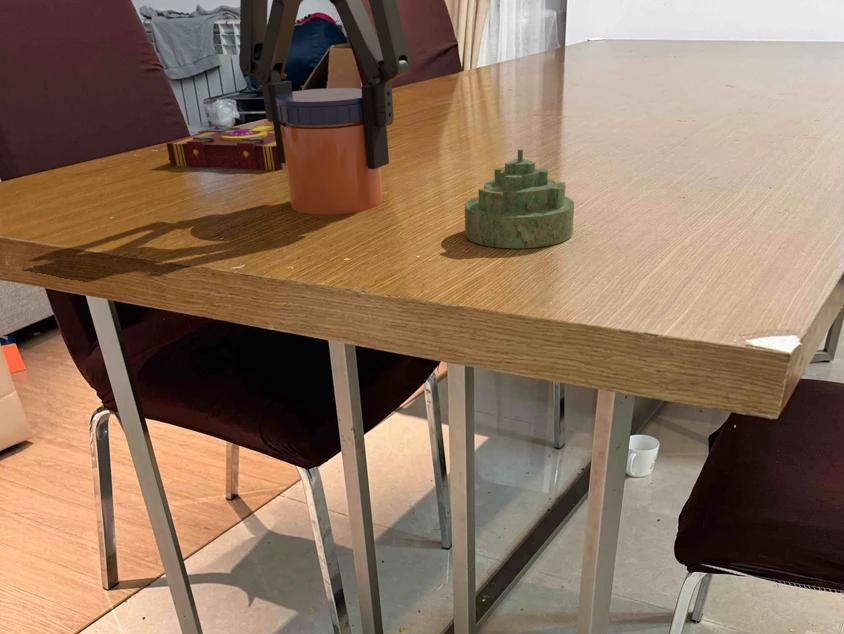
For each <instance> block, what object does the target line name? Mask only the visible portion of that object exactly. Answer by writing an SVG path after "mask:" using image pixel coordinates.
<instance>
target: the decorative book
mask: <svg viewBox="0 0 844 634" xmlns="http://www.w3.org/2000/svg"><path fill="white" fill-rule="evenodd" d="M166 147H167V148H166V149H167V154H168V161H169V163H170V166H171V167H187V168H188V167H189V168H199V169H200V168H202V169H207V168H215V169H217V168H219V169H240V170H255V171H256V170H270V171H272V170H273V171H282V170H284V168H286V166H285V163H279V161H278V154H277V147H276V140H275V133H274V128H273V126H270V125H269V126H266V125H259V126H258V127H255V128H241V126H219V125H215V126H214V125H213V126H210V127H208V128H205V129H202V130H201V129H200V130H199V131H197V133H194V134H192V135H188V136H186V137H185V136H184V137H182V138H178V139H176V140H173V141H170V142H166Z"/></svg>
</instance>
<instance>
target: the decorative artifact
mask: <svg viewBox="0 0 844 634" xmlns="http://www.w3.org/2000/svg"><path fill="white" fill-rule="evenodd" d="M523 157H524V149H521V148H520V149H517V158H515V159H512V160H510V161H508V162H505V163H504V166H503V167H498V168H495V169H494V178H493V179H490V180H487V181H486V182H484V183H483V188H479V189H478V196H476V197H473V198H470V199H468V200H467V201H466V202H465V203H464V235H465V237H466V239H467V240H468V241H470V242H472V243H474V244H478V245H481V246H484V247H491V248H497V249H514V250H515V249H516V250H517V249H520V250H521V249H536V248H542V247H549V246H550V247H551V246H554V245H557V244H560V243H564V242H565V241H567V240H569V239H570V238H571V237H572V236H573V232H574V215H575V214H574V213H575V201H574V200H573V199H572V198H570V197H568V196H566V185H567V184H566V182H565V181H564V182H555V180H552V179H550V178H549V170H548V169H546V167H545V168H536V162H533V161H531V160H530V159H525V158H523Z"/></svg>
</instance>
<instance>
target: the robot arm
mask: <svg viewBox="0 0 844 634" xmlns="http://www.w3.org/2000/svg"><path fill="white" fill-rule="evenodd" d="M239 1H240V3H239V11H240V13H239V69H240V71H241V73H242V74H244V75H249V76H252V77H254V78H256V79H257V80H258V81H259V83H260V86H261V90H262V99H263V103H264V108H265V109H264V111H265V117H266V119H267V121H268V122H269V123H272V125H273V130H274V133H275V140H276V147H277V154H278V161H279V163H285V159H284V151H283V144H282V137H281V129H280V123H281V122H280V121H279V120H278V119H277V112H276V100H275V97H276V96H278V95H280V94H284V93H288V92H293V86H292V80H284V79H286V78H287V77H288V75H287V74H285V72H284V71H285V68H286V63H287V60H288V55H289V52H290V47H291V43H292V38H293V34H294V30H295V26H296V22H297V18H298V13H299V9H300V6H301V3H303V1H304V0H272V2H271V6H270V11H269V15H268V6H269V5H268V4H269V0H239ZM328 1H329V2H330V3H331V4H332V5H333V6H334V7H335V10H336V13H337V14H338V16H339V18H340V21H341V23H342V26H343V27H344V29H345V31H346V34H347V36H348V38H349V40H350V42H351V44H352V47H353V49H354V51H355V54H356V56H357V58H358V60H359V62H360V65H361V67H362V69H363V72H364V74H365V75H366V77H367V81H365V82H364V84H365V85H362V86H360V89H361V91H362V103H363V115H364V127H365V139H366V151H367V164H368V169H376V168H379V167H381V168H382V167H384V166H387V165H389V164H390V158H389V142H388V130H387V129H388V128H387V127H388V126H392V125H393V124H394V123H393V122H394V118H395V117H394V106H393V105H394V101H393V100H394V99H393V83H394V81H395V80H396V79H398V78H400V77H402V76H405V75H407V74H410V72H411V70H412V62H411V59H410V53H409V50H408V45H407V40H406V36H405V32H404V29H403V24H402V20H401V16H400V12H399V7H398V3H397V0H368V4H369V7H370V11H371V15H372V19H373V24H374V26H373V24H372V21H371V19H370V17H369V14H368V12H367V10H366V8H365V6H364V3H363V1H362V0H328ZM374 27H375V28H374ZM281 80H282V81H281Z"/></svg>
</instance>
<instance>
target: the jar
mask: <svg viewBox="0 0 844 634" xmlns="http://www.w3.org/2000/svg"><path fill="white" fill-rule="evenodd" d="M280 129H281V137H282V144H283V151H284V159H285V166H286V167H285V173H286V180H287V181H286V182H287V187H288V195H289V203H290V208H291V209H292V210H294V211H295V212H298V213H304V214H309V215H344V214H353V213H358V212H364V211H368V210H371V209H374V208H377V207H379V206H380V205H382V204H384V203H383V202H384V195H383V182H382V166H381V167H379V168H376V169H368V164H367V151H366V139H365V127H364V121H360V122H353V123H345V124H333V125H294V124H287V123H282V122H281V123H280Z"/></svg>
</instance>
